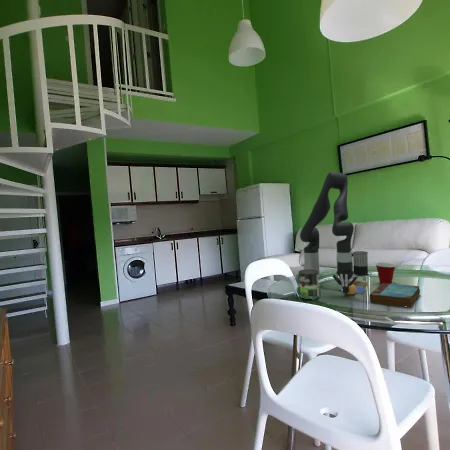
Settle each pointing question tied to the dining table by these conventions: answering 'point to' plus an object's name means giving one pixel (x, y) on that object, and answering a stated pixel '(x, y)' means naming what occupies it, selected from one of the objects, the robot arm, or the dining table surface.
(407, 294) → the book
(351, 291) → the ball
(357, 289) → the disc
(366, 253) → the milk frother
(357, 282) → the stopper bar
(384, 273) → the plastic cup
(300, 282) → the coffee can
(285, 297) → the dining table surface
